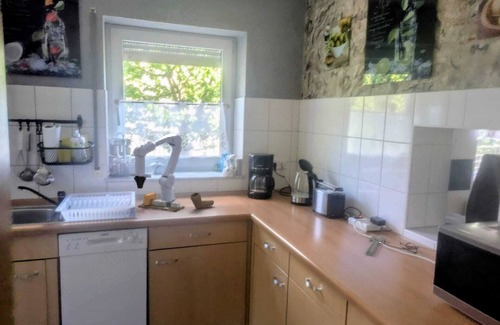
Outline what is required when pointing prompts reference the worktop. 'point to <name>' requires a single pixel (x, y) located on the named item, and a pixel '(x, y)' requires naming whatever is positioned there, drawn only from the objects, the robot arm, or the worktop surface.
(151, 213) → the worktop surface
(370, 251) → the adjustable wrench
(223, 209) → the worktop surface
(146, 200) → the collar
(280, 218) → the worktop surface
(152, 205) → the stand
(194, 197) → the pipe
